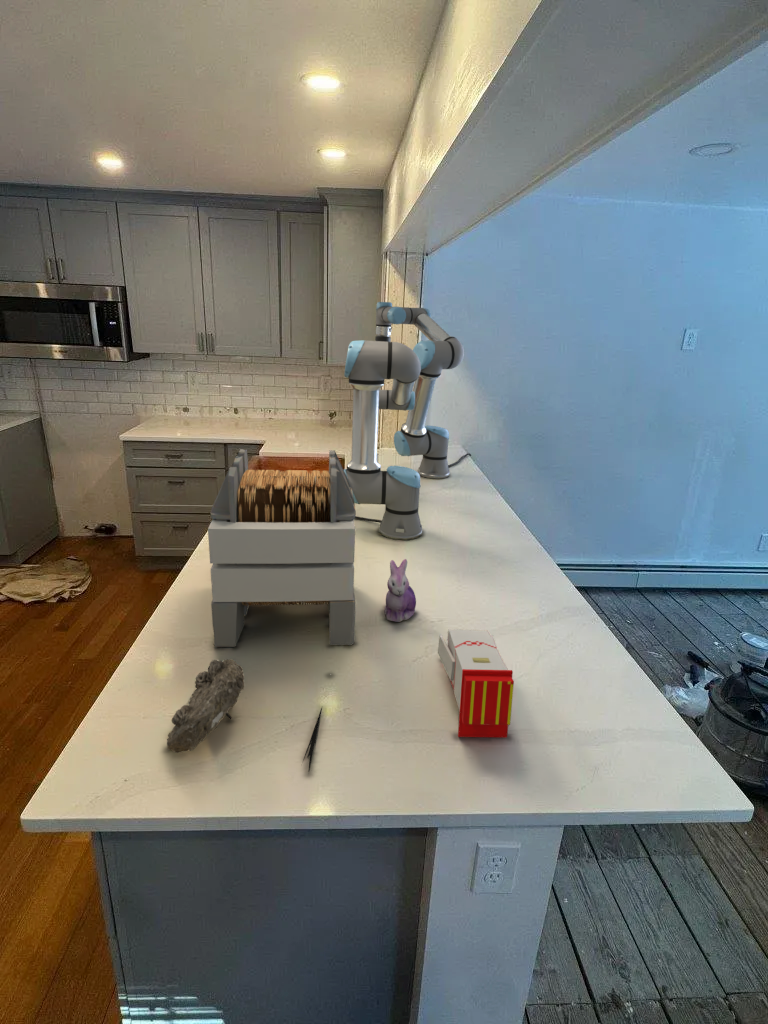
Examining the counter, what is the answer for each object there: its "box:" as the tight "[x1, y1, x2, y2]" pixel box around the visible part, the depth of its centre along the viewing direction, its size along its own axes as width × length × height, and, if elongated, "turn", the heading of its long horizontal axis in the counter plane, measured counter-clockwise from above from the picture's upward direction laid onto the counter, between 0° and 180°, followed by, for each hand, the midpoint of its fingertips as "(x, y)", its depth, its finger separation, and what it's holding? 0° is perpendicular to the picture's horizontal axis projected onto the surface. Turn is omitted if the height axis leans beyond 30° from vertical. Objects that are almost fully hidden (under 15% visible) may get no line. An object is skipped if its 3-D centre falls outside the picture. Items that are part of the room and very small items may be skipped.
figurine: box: [384, 558, 417, 623], centre depth 145 cm, size 9×10×15 cm
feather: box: [301, 673, 332, 771], centre depth 108 cm, size 2×28×2 cm
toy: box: [437, 628, 515, 738], centre depth 117 cm, size 12×13×30 cm
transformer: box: [207, 448, 357, 649], centre depth 139 cm, size 34×33×41 cm
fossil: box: [166, 658, 245, 754], centre depth 106 cm, size 22×10×15 cm
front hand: (365, 473), depth 241 cm, fingers closed on block, 6 cm apart
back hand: (381, 380), depth 282 cm, fingers open, 13 cm apart
